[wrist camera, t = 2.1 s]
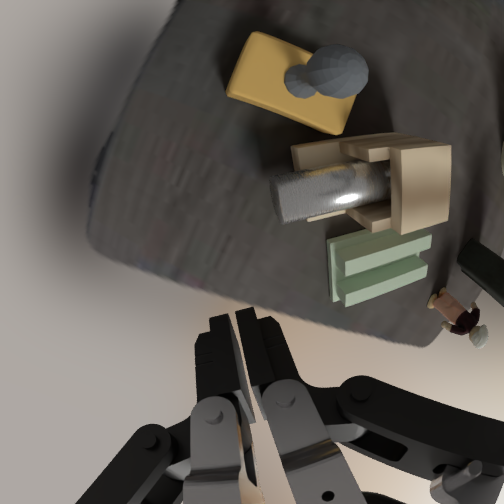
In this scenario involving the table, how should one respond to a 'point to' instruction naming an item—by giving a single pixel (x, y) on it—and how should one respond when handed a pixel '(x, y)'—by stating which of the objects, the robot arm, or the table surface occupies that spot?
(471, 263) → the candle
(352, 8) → the table surface
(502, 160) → the reusable coffee cup
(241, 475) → the robot arm
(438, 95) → the table surface
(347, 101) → the rubber stamp
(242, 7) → the table surface
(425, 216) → the beige block
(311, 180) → the axle
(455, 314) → the grandmother figurine
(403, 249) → the cradle
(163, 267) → the table surface
